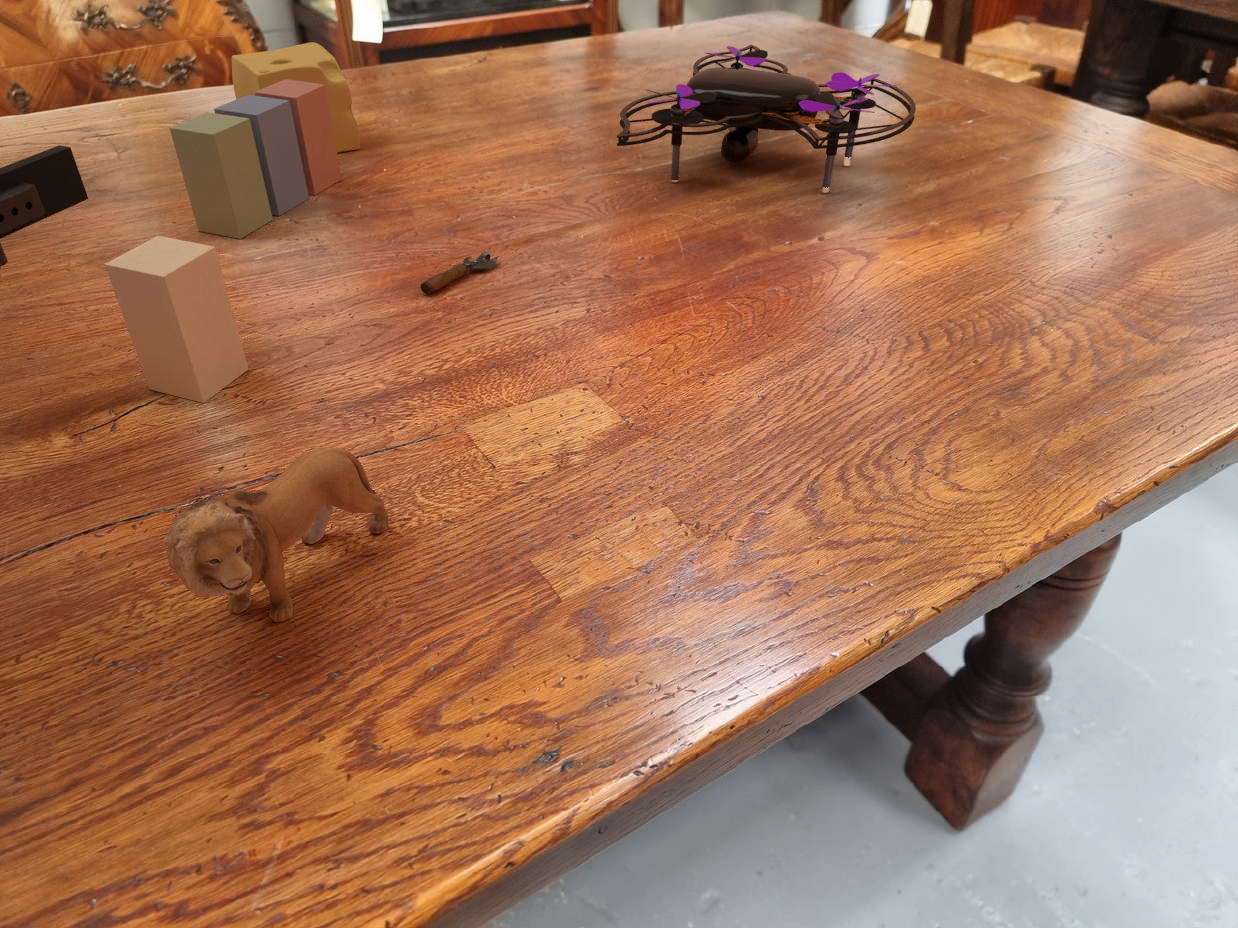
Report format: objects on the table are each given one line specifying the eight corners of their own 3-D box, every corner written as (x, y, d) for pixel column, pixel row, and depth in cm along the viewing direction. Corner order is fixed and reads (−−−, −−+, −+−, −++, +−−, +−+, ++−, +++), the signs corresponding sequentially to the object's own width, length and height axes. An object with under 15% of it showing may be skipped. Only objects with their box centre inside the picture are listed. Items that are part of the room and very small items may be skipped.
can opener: (428, 297, 79) (427, 285, 79) (411, 288, 81) (409, 276, 80) (504, 263, 85) (504, 251, 84) (487, 256, 86) (486, 244, 85)
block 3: (238, 209, 94) (213, 108, 88) (269, 192, 98) (247, 94, 92) (279, 216, 93) (256, 115, 87) (309, 198, 97) (289, 100, 91)
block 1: (198, 231, 90) (168, 127, 84) (232, 212, 94) (206, 111, 88) (240, 239, 89) (213, 134, 82) (273, 220, 92) (249, 118, 86)
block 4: (275, 188, 99) (254, 92, 93) (304, 173, 103) (285, 79, 96) (315, 195, 98) (295, 97, 91) (342, 179, 101) (325, 84, 95)
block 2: (148, 389, 68) (103, 263, 62) (195, 356, 71) (158, 235, 65) (204, 403, 66) (163, 276, 60) (249, 369, 70) (215, 246, 64)
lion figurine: (262, 683, 47) (217, 552, 41) (176, 655, 48) (121, 525, 42) (409, 506, 58) (389, 385, 52) (335, 487, 59) (308, 367, 53)
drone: (727, 26, 118) (950, 52, 109) (721, 104, 124) (932, 135, 115) (586, 112, 90) (872, 157, 80) (587, 208, 96) (853, 260, 86)
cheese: (363, 150, 109) (349, 60, 103) (272, 167, 104) (251, 74, 98) (331, 126, 115) (316, 40, 109) (244, 141, 111) (223, 52, 105)
